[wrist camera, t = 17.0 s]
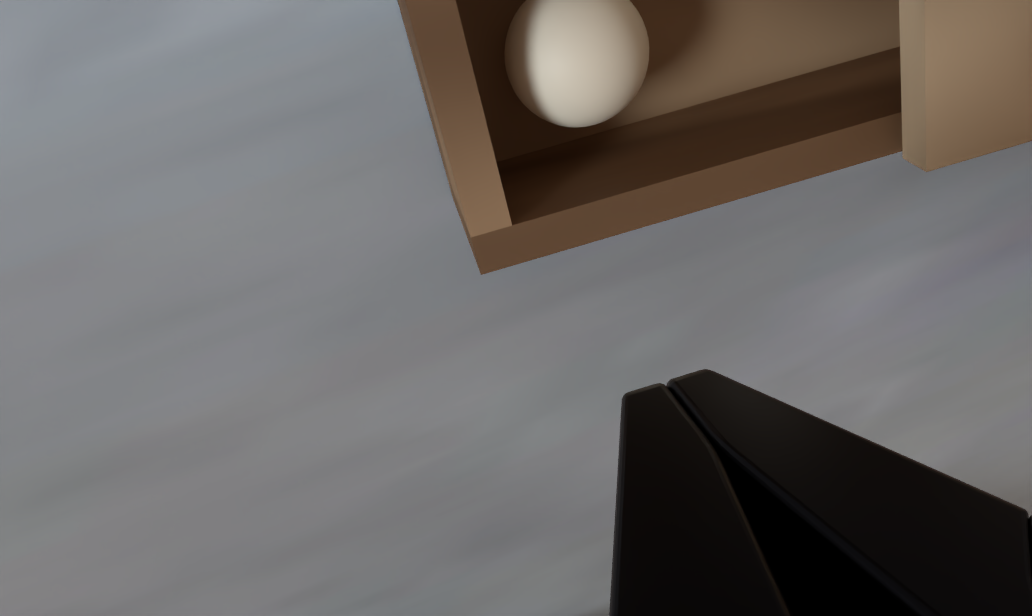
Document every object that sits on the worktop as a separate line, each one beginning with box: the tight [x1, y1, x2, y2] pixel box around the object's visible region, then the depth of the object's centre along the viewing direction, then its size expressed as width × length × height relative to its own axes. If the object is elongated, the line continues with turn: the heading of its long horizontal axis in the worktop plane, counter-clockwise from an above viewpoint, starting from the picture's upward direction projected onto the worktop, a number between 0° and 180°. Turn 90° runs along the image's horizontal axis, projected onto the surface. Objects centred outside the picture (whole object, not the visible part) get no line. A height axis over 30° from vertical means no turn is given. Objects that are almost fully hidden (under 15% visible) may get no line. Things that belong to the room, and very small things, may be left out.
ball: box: [504, 0, 649, 127], centre depth 18 cm, size 3×3×3 cm
